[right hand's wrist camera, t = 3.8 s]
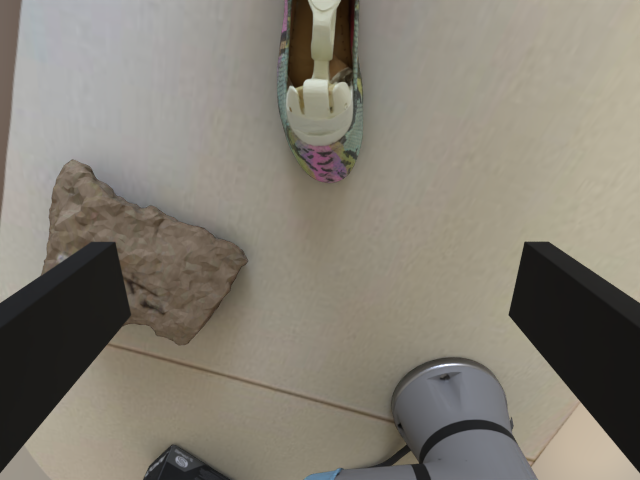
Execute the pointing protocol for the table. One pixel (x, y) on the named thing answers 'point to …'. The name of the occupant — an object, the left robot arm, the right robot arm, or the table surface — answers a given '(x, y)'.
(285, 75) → the ballet flat
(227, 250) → the stone
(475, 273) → the table surface
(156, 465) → the graphics card box
